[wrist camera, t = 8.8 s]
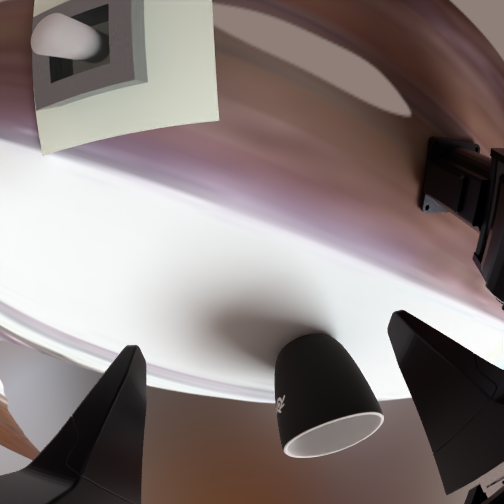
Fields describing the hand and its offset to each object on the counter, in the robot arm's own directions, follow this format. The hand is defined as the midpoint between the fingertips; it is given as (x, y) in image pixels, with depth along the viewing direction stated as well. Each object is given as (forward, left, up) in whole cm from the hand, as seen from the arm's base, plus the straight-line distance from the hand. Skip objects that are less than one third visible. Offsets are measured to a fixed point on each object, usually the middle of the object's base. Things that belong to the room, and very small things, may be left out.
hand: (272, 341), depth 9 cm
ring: (+8, -12, -11) cm, 18 cm away
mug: (-6, +18, -12) cm, 23 cm away
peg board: (+7, -12, -12) cm, 18 cm away
